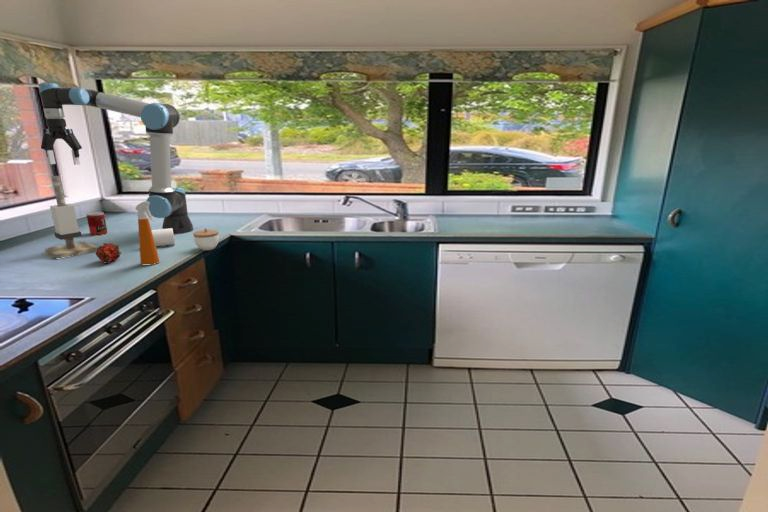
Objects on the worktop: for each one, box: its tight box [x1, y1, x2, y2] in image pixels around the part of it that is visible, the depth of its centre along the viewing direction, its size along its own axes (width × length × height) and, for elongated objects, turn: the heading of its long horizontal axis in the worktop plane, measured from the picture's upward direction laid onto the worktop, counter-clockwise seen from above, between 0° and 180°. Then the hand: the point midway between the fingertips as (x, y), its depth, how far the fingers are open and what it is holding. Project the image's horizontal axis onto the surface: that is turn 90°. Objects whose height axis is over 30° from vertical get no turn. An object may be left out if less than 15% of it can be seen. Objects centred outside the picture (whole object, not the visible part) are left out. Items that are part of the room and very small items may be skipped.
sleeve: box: [49, 203, 80, 235], centre depth 198 cm, size 7×7×12 cm
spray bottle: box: [135, 200, 160, 265], centre depth 181 cm, size 7×11×26 cm, turn 58°
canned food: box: [86, 211, 108, 236], centre depth 233 cm, size 8×8×11 cm
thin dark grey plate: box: [53, 230, 83, 241], centre depth 200 cm, size 8×8×2 cm
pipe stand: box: [44, 175, 98, 259], centre depth 197 cm, size 16×16×34 cm
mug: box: [151, 228, 176, 247], centre depth 213 cm, size 12×10×8 cm
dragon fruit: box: [95, 242, 122, 263], centre depth 187 cm, size 8×8×12 cm
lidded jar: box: [193, 228, 220, 251], centre depth 206 cm, size 11×11×9 cm
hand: (64, 164), depth 216 cm, fingers open, 13 cm apart
